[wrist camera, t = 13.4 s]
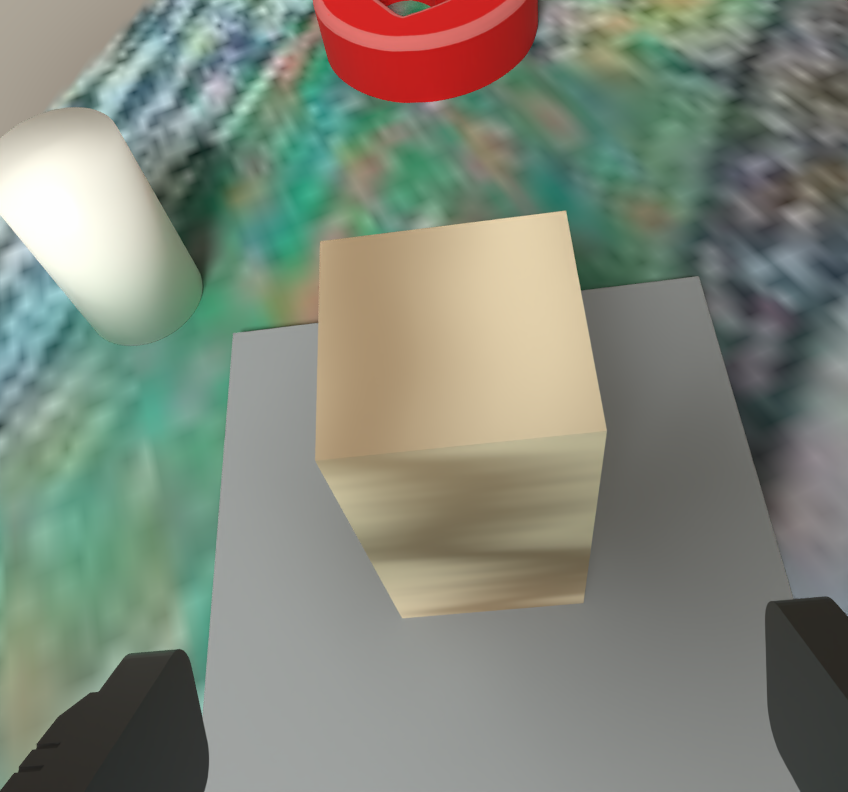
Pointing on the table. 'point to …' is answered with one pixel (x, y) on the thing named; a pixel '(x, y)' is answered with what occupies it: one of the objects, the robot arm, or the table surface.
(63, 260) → the white cylinder
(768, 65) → the table surface
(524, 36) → the decorative ornament
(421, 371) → the beech block
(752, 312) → the table surface
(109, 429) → the table surface
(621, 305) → the grey mat
